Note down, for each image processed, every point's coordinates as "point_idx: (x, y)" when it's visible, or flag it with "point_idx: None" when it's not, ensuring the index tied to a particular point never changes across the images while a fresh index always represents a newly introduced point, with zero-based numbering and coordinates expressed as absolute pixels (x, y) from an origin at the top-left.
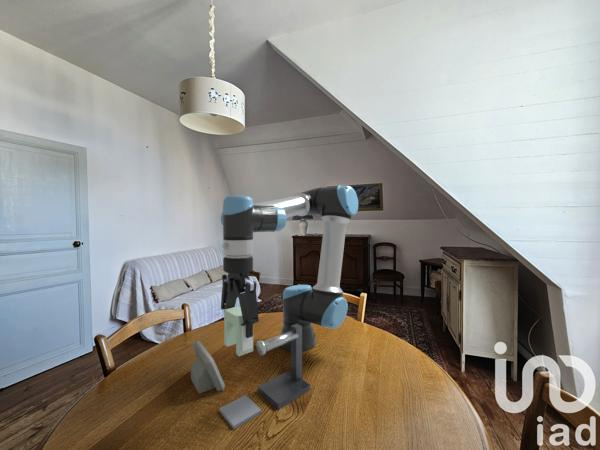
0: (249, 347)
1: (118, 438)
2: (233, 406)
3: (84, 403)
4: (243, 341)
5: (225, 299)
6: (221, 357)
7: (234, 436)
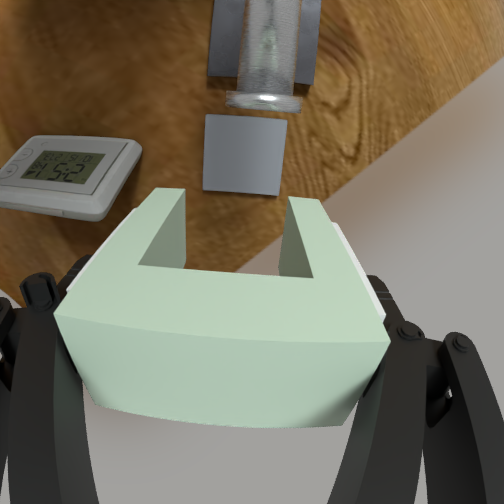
0: None
1: None
2: (221, 161)
3: None
4: None
5: (6, 408)
6: (17, 93)
7: None
